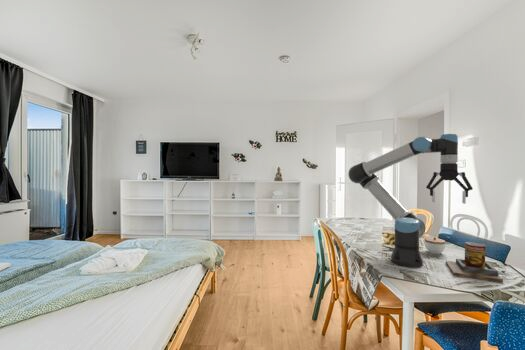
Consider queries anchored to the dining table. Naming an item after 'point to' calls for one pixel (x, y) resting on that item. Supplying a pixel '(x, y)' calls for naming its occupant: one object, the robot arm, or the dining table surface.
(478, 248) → the canned food
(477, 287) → the dining table surface
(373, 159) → the robot arm
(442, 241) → the lidded jar
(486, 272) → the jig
